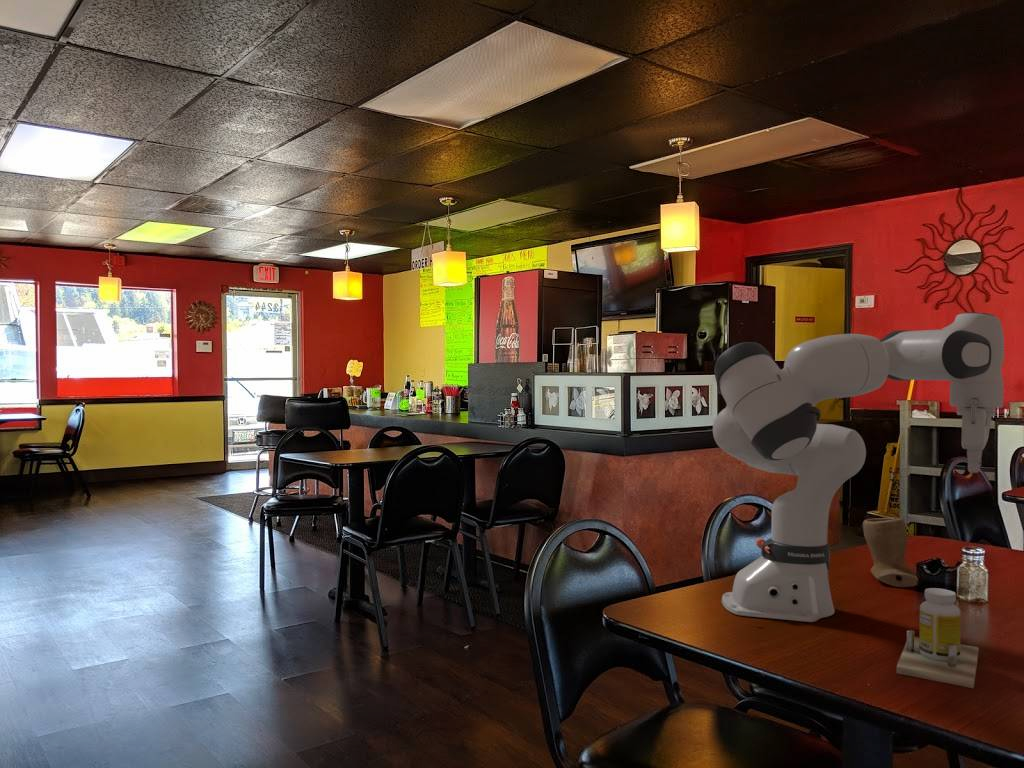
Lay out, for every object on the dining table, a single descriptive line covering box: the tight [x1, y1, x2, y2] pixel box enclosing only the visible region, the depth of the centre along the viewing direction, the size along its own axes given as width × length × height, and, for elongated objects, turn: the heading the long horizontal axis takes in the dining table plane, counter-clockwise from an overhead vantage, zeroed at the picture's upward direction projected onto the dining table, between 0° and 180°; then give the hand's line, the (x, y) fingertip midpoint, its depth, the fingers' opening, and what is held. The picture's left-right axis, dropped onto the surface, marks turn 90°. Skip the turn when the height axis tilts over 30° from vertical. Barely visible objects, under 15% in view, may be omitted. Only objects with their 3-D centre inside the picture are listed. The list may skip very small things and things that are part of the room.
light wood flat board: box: [895, 635, 979, 689], centre depth 134 cm, size 18×11×1 cm, turn 147°
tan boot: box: [862, 516, 918, 588], centre depth 188 cm, size 15×12×15 cm
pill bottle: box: [918, 587, 962, 661], centre depth 134 cm, size 6×6×11 cm
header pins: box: [905, 629, 957, 667], centre depth 135 cm, size 9×8×4 cm
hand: (974, 469), depth 151 cm, fingers open, 8 cm apart
